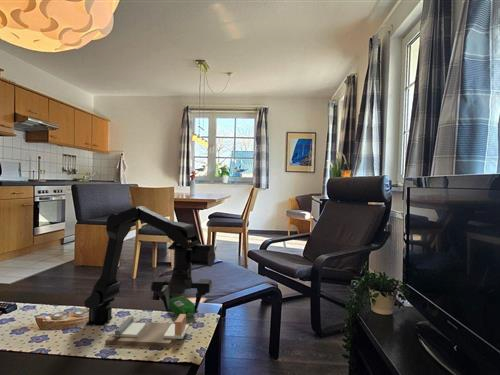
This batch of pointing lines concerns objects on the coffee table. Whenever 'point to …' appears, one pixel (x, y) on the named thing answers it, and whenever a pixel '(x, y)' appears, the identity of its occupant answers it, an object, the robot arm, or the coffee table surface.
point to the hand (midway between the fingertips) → (181, 311)
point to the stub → (177, 328)
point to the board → (144, 337)
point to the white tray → (130, 328)
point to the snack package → (182, 306)
